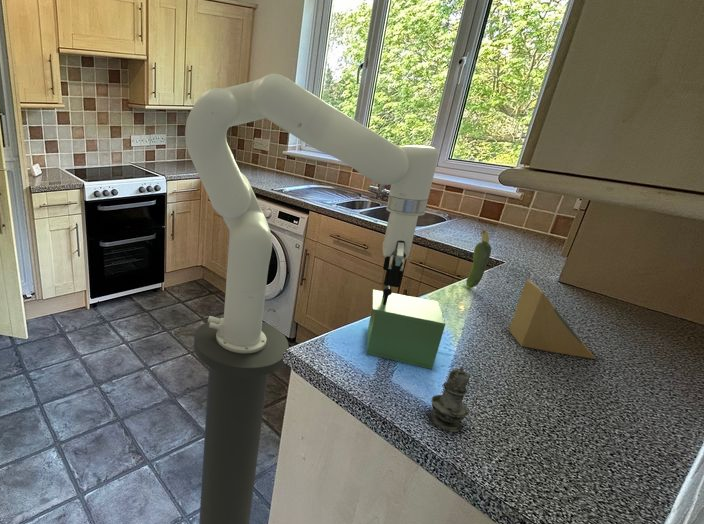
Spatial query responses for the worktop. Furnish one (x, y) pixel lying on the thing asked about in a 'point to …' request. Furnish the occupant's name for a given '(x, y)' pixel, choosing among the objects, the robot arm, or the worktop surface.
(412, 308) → the bin lid
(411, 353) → the waste bin
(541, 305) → the sandwich container
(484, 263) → the vegetable
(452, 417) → the dark grey rounded piece
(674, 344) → the worktop surface
